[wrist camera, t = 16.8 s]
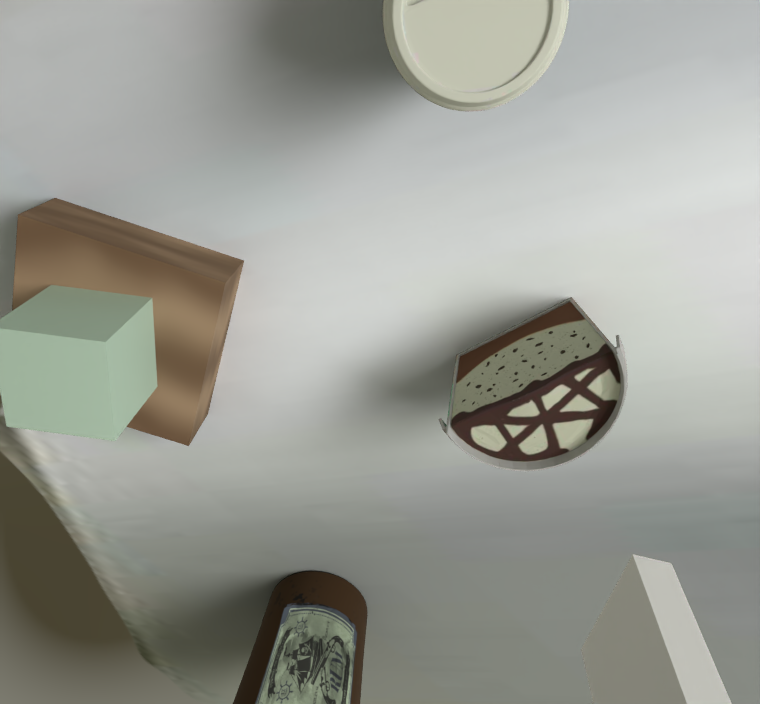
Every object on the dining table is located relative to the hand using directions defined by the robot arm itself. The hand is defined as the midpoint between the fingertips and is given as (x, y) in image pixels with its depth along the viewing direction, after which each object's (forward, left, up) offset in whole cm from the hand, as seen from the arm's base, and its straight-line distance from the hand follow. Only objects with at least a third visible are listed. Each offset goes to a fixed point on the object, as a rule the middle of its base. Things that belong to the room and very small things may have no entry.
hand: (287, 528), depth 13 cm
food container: (+11, +13, -35) cm, 39 cm away
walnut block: (+15, -17, -35) cm, 42 cm away
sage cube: (+15, -17, -30) cm, 38 cm away
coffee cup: (-10, +2, -35) cm, 36 cm away
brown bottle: (+41, +2, -35) cm, 54 cm away
